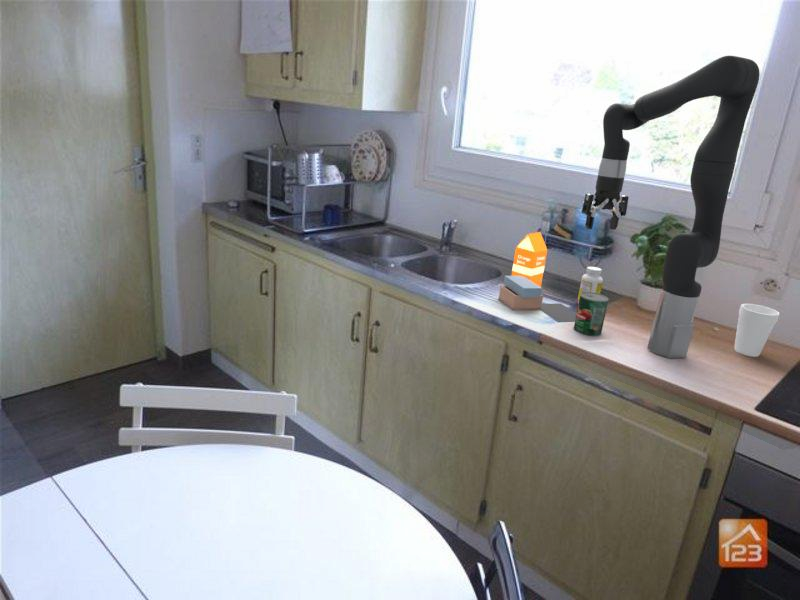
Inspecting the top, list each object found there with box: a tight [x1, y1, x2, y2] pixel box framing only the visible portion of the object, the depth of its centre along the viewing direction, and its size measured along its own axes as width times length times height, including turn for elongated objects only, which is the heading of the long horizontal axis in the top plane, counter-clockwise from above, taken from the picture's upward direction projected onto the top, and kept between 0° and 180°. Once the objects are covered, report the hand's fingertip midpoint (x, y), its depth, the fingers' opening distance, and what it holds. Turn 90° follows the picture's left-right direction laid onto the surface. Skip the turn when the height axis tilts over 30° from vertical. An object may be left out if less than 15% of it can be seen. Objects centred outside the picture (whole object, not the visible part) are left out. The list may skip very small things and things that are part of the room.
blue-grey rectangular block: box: [503, 275, 543, 298], centre depth 181 cm, size 13×6×3 cm, turn 17°
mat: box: [539, 302, 577, 323], centre depth 179 cm, size 16×11×1 cm
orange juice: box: [510, 231, 548, 288], centre depth 200 cm, size 8×9×20 cm
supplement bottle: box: [577, 266, 604, 304], centre depth 188 cm, size 7×7×13 cm
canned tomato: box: [573, 292, 610, 337], centre depth 164 cm, size 8×8×11 cm
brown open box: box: [498, 285, 544, 311], centre depth 182 cm, size 10×10×5 cm
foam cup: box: [733, 303, 780, 358], centre depth 159 cm, size 10×9×13 cm
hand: (600, 229), depth 173 cm, fingers open, 8 cm apart
